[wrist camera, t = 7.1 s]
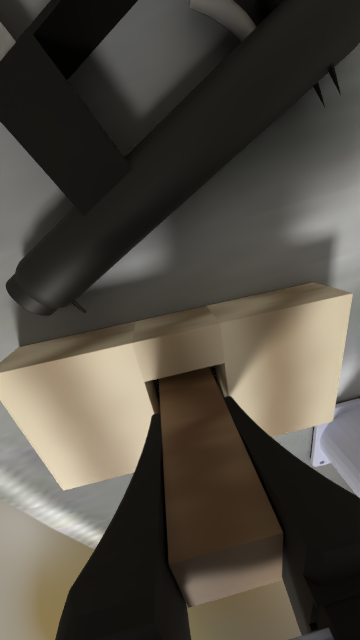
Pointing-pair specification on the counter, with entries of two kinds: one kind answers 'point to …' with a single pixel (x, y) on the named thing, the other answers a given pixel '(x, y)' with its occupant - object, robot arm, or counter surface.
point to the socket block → (170, 359)
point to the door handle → (163, 141)
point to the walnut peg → (213, 496)
